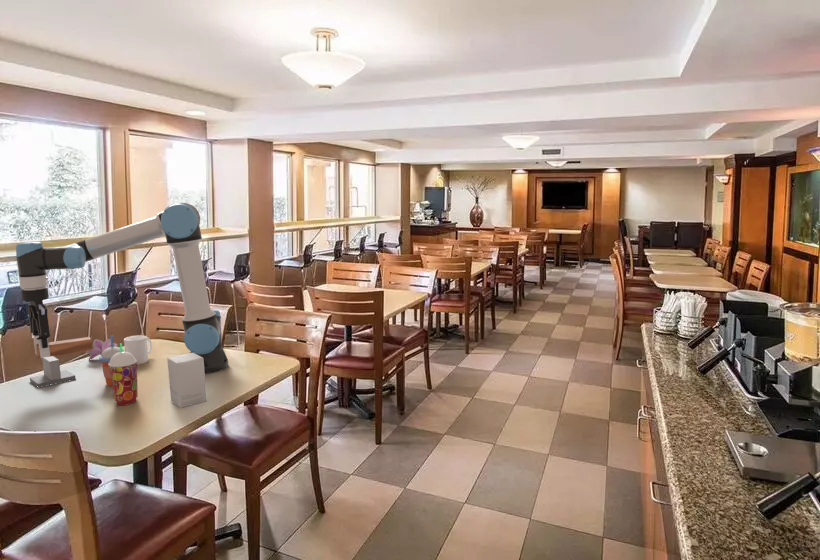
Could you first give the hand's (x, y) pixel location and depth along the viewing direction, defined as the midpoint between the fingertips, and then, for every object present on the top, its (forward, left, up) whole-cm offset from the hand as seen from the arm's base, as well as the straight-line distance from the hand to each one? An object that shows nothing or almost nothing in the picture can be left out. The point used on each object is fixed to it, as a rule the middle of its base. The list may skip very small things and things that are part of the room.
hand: (42, 355), depth 192 cm
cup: (+15, -38, -14) cm, 43 cm away
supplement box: (-44, -29, -14) cm, 54 cm away
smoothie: (-29, -15, -14) cm, 35 cm away
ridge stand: (+15, -6, -14) cm, 21 cm away
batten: (-2, -6, 0) cm, 7 cm away
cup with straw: (-7, -20, -14) cm, 25 cm away
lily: (+29, -28, -14) cm, 43 cm away
